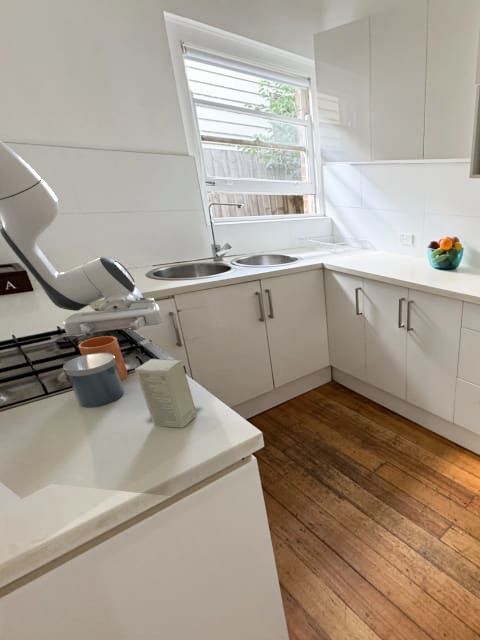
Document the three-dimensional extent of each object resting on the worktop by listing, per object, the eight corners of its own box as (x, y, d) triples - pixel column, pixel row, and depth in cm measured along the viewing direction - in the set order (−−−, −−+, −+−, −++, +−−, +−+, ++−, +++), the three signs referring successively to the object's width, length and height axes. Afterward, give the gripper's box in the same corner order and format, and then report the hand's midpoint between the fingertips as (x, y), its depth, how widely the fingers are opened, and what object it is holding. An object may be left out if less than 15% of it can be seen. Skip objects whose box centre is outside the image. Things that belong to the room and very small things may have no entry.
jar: (69, 401, 77) (54, 364, 74) (112, 384, 84) (101, 349, 81) (90, 412, 74) (76, 374, 71) (133, 393, 81) (122, 358, 77)
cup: (85, 380, 85) (72, 344, 81) (117, 368, 90) (106, 334, 87) (101, 388, 82) (88, 350, 79) (134, 375, 88) (123, 339, 84)
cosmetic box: (197, 415, 74) (184, 359, 69) (182, 429, 70) (167, 371, 65) (167, 412, 75) (152, 357, 70) (150, 426, 71) (133, 368, 66)
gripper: (67, 306, 98) (51, 324, 87) (160, 297, 107) (155, 312, 96) (75, 328, 101) (60, 348, 90) (165, 318, 110) (162, 335, 99)
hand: (110, 329), depth 93 cm, fingers open, 8 cm apart
